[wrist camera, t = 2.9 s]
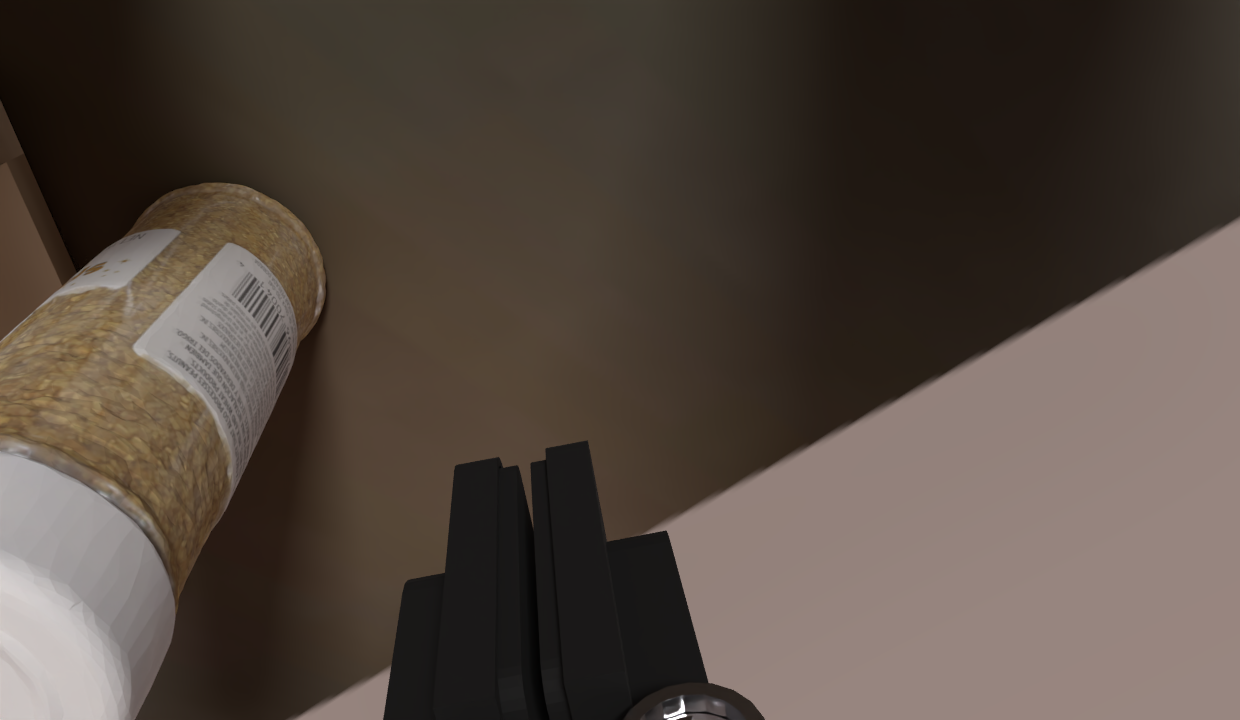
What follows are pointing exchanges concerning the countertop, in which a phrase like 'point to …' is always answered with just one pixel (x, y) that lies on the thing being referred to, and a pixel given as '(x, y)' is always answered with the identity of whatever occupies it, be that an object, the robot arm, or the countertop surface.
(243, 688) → the countertop surface
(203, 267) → the sprinkles bottle
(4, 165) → the bottle rest
